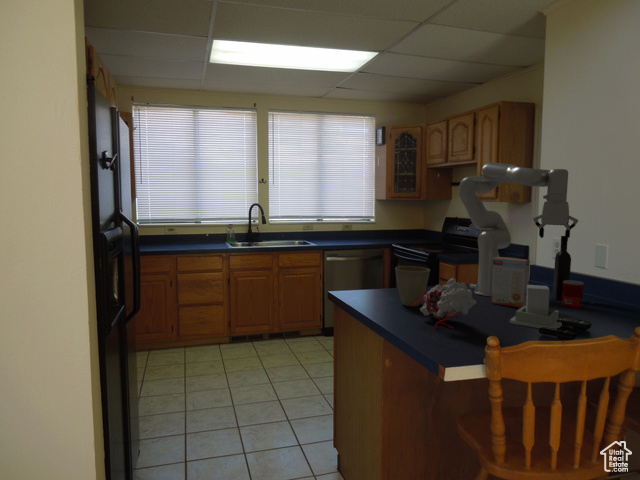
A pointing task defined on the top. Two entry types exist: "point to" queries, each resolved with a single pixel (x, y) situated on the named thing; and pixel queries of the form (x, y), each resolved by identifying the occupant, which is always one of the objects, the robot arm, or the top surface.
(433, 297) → the molecular structure model
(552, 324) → the tray
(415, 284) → the plant pot
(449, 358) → the top surface
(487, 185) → the robot arm
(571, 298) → the canned food
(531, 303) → the supplement box
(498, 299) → the cracker box
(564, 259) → the wine bottle
